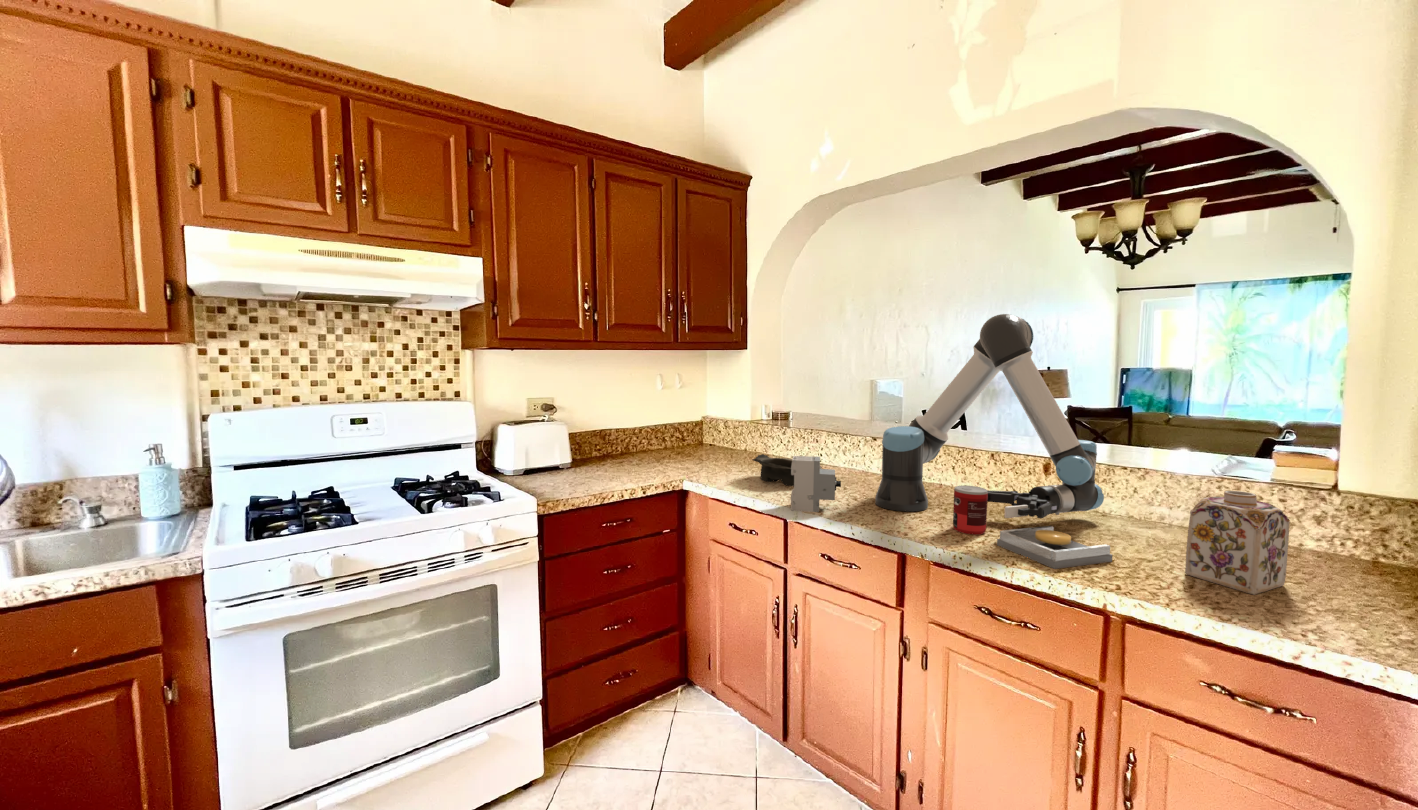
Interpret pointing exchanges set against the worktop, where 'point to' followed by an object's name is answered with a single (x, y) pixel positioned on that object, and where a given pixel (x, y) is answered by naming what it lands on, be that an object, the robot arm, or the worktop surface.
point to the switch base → (1059, 556)
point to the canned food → (970, 509)
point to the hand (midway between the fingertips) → (985, 505)
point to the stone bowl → (776, 469)
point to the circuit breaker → (811, 484)
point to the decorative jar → (1238, 542)
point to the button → (1053, 538)
